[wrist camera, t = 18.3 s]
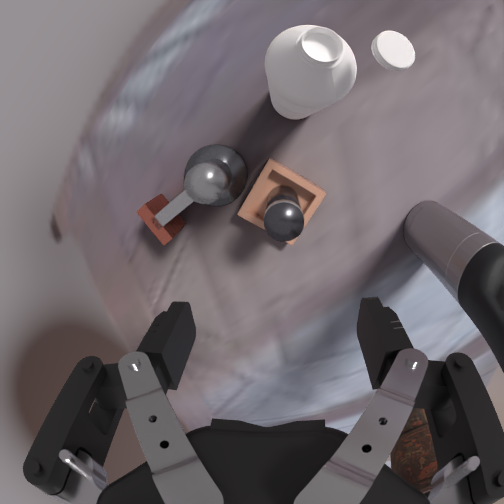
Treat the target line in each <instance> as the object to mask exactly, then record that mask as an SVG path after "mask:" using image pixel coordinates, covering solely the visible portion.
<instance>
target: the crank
mask: <svg viewBox="0 0 504 504" xmlns="http://www.w3.org/2000/svg"><path fill="white" fill-rule="evenodd" d="M231 180H232V173H231V170H230V168H229V166H228V165H227V164H226V163H225V162H223V161H222V160H219V159H210V160H207V161H205V162H203V163H200V164H198V165H196V166H194V167H193V168H191V169H190V170H189V171H188V173H187V174H186V177H185V180H184V187H185V190H184V191H183V192H182V193H181V194H180V195H178V196H177V197H176V198H175V199H174V200H173V201H171V202H170V203H169V202H168V201H167V199H166V198H165V197H164V196H163V194H160V195H158V196H157V197H155V198H154V199H152V200H150V201H149V202H147V203H146V204H144V205H143V206H142V207H141V208H140V209H139V210H138V211H137V213H138V215H139V216H140V217H141V218H142V220H143V221H144V222H145V223H146V225H147V226H148V227H149V228H150V230H151V231H152V232H153V233H154V234H155V236H156V237H157V238H158V239H159V241H160V242H161V243H162V244H163V245H165V244H167V243H168V242H169V241H170V240H172V239H173V238H174V237H175V235H176V234H177V233H178V232H179V231H180V230H181V229H182V228H183V227H184V226H185V224H186V223H185V222H184V221H183V219H182V218H181V217H180V216H179V213H180V212H181V211H182V210H184V209H185V208H186V207H187V206H189V205H190V204H191V203H192V202H194V201H195V202H197V203H200V204H209V203H212V202H214V201H216V200H217V199H218V198H219V197H220V196H221V195H222V194H223V192H224V191H225V190H226V189H227V188H228V187H229V185H230V183H231Z"/></svg>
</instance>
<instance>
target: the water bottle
mask: <svg viewBox="0 0 504 504" xmlns="http://www.w3.org/2000/svg"><path fill="white" fill-rule="evenodd" d="M371 48H372V53H373V55H374V57H375V59H376V60H377V61H378V63H379V64H381V65H382V66H383V67H385V68H386V69H389V70H392V71H400V70H403V69H406V68H408V67H409V66H411V65H412V64H413V62H414V60H415V52H414V48H413V46H412V44H411V43H410V42H409V40H408V39H407V38H406V37H404V36H403V35H402V34H400V33H398V32H395V31H384V32H382V33H380V34H379V35H378V36H376V37H375V38H374V40H373V42H372V46H371ZM265 71H266V75H267V79H268V86H269V92H270V97H271V102H272V105H273V107H274V109H275V110H276V111H277V112H278V113H279V114H280V115H282V116H284V117H286V118H289V119H302V118H305V117H308V116H310V115H312V114H314V113H316V112H318V111H320V110H321V109H323V108H325V107H327V106H330V105H333V104H335V103H336V102H338V101H339V100H341V99H342V98H343V97H345V96H346V95H347V94H348V92H349V91H350V90H351V88H352V86H353V84H354V82H355V79H356V73H357V66H356V60H355V57H354V54H353V52H352V50H351V48H350V47H349V45H348V44H347V43H346V42H345V41H344V40H343V39H342V38H341V37H340V36H339V35H337V34H336V33H335V32H334V31H332V30H330V29H328V28H325V27H319V26H314V25H301V26H296V27H292V28H289V29H287V30H285V31H283V32H282V33H280V34H279V35H278V36H277V37H276V38H275V39H274V40H273V41H272V42H271V44H270V46H269V47H268V50H267V52H266V56H265Z"/></svg>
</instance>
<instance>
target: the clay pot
mask: <svg viewBox="0 0 504 504" xmlns="http://www.w3.org/2000/svg"><path fill="white" fill-rule="evenodd" d="M390 454H391V469H392V470H393V471H394V472H396V473H397V474H398V475H400V476H401V477H402V478H403V479H405V480H406V481H407V482H409V483H410V484H411V485H413V486H414V487H415V488H417V489H418V490H419V491H421V492H422V493H423V494H424V495H425V496H426V497H427V498H428V497H429V494H430V491H431V481H432V479H433V477H434V475H435V474H436V473H437V472H438V471H439V470H438V465H437V460H436V455H435V450H434V446H433V442H432V437H431V433H430V429H429V425H428V421H427V418H426V414H425V410H424V409H419V408H413V409H412V411H411V413H410V415H409V418H408V420H407V422H406V424H405V426H404V428H403V430H402V432H401V434H400V436H399V438H398V440H397V442H396V444H395V446H394V448H393V449H392V451H391V453H390Z"/></svg>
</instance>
